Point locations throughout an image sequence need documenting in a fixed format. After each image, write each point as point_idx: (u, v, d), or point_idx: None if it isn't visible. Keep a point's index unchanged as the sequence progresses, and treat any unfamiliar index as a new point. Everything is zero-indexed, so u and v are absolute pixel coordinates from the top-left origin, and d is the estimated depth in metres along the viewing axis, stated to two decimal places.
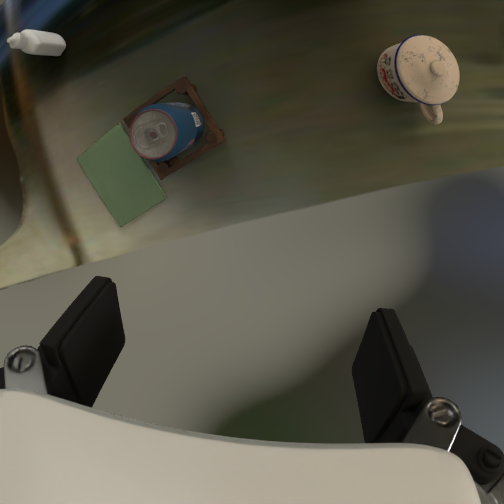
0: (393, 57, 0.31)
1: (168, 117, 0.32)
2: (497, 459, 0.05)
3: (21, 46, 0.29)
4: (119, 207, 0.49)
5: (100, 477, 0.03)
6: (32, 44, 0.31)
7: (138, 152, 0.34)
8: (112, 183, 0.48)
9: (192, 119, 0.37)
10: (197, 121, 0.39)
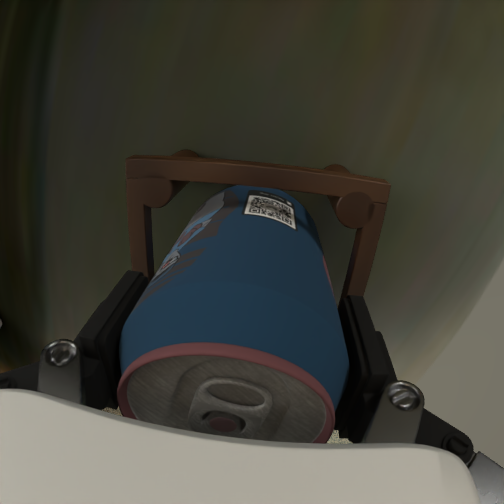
0: None
1: None
2: (463, 447, 0.06)
3: None
4: None
5: (100, 477, 0.03)
6: None
7: None
8: None
9: (268, 227, 0.11)
10: (280, 210, 0.13)
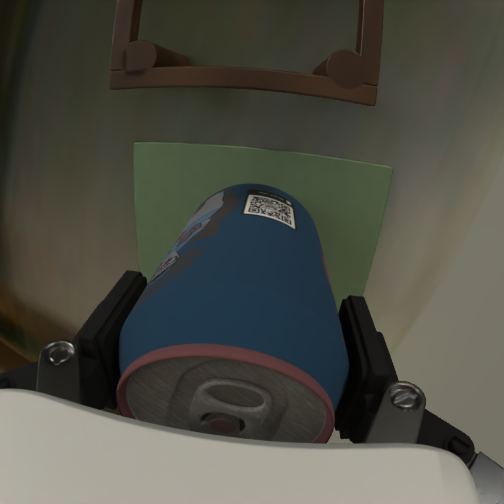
0: None
1: None
2: (465, 447, 0.06)
3: None
4: None
5: (100, 477, 0.03)
6: None
7: None
8: None
9: (268, 227, 0.11)
10: (279, 210, 0.13)
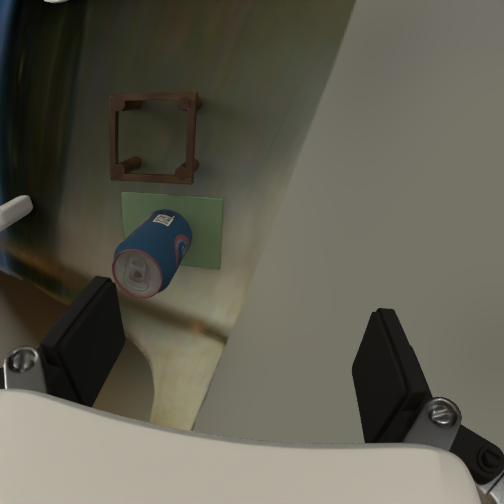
0: None
1: (129, 251, 0.31)
2: (497, 459, 0.05)
3: None
4: (199, 253, 0.44)
5: (100, 477, 0.03)
6: None
7: (145, 296, 0.33)
8: None
9: (157, 225, 0.35)
10: (166, 220, 0.37)
